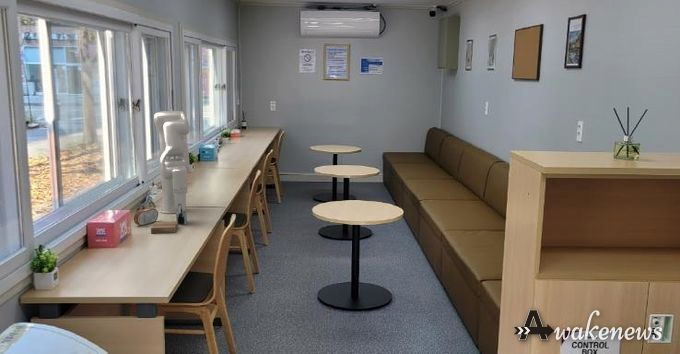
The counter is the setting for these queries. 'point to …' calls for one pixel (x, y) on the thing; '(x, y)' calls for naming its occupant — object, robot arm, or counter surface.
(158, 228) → the base
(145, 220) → the wooden speaker
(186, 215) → the block
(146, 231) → the counter surface
